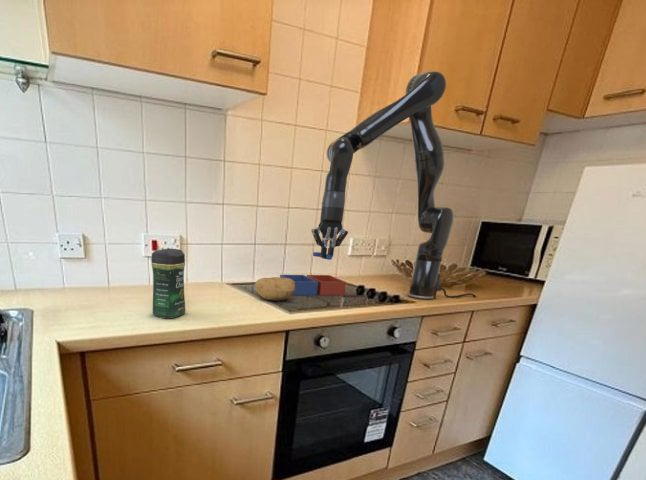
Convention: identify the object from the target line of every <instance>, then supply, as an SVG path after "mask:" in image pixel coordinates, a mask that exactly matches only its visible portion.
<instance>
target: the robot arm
mask: <svg viewBox="0 0 646 480" xmlns="http://www.w3.org/2000/svg"><path fill="white" fill-rule="evenodd" d="M446 88H447V80H446V77H445V75H444V74H443V73H442V72H440V71H436V70H430V71H426V72H422V73H416V74H415V75H413V76H412V77H411V78H410V79H409V80H408V83H407V84H406V87H405V95H403V96H401V97H400V98H399V99H397V100H395V101H394V102H392V103H390V104H388V105H385V107H382V108H380V109H378V110H376V111H375V112H373V113H372V114H370V115H369V116H367V117H366V118H365V119H363V120H362V121H361V122H359V123H357V125H355V126H354V127H353V128H352V129H351V130H349V131H347V132H346V133H344V134H343V135H341V136H340V137H338V138H336V139H335V140H333V141H332V142H331V143H330V144H329V145H328V147H327V149H326V158H327V161H328V162H329V163H330V165H329V171H328V172H327V173H326V176H325V180H324V181H325V182H324V190H323V196H322V199H321V201H322V202H321V210H320V218H319V219H320V221H319V223H318V226H317V227H316V228H311V234H312V236H313V239H314V241H315V243H316V245H317V246H319V247H320V252H321V257H322V258H321V257H320V258H321V259H323V260H327V259H326V254H328V255H332V258H334V253H335V248H336V247H340V246H341V245H342V243H343V242H344V240H345V239H346V237H347V236H348V234H349V231H348V230H346V229H345V228H343V220H344V211H345V204H346V192H347V185H348V175H349V173H350V171H351V167H352V163H353V159H354V154H355V153H356V152H358V151H359V150H361V149H364V148H366V147H367V146H369V145H371V144H372V143H373V142H374V141H376V140H378V139H379V138H380V137H382V136H383V135H384V134H386V133H387V132H388V131H390V130H391V129H393V128H394V127H396V126H397V125H399V124H401V123H402V122H404V121H405V120H407V119H409V122H410V127H411V137H412V138H411V139H412V147H413V160H414V169H415V177H416V187H417V188H416V189H417V223H418V227H419V230H420V231H421V232H423V233H427V234H430V237H429V239H427V240H426V241H423V242H420V243H419V244H418V245H417V249H416V250H417V251H416V256H415V261H414V266H413V271H412V276H411V281H410V285H409V289H408V293H407V296H408V297H410V298H414V299H419V300H433V299H436V298H437V293H438V292H441V291H442V292H443V295H444V296H445V297H446V298H450V299H451V298H460V297H465V296H472V297H473V298H477V296H476V294H474V293H469V292H468V293H461V294H458V295H448V294H447V291H446V289H445V288H443V283H440V279H441V276H442V274H441V273H440V269H441V264H442V260H443V257H444V256H443V255H444V253H445V248H446V247H447V245H448V242H449V239H450V235H451V231H452V228H453V224H454V219H455V218H454V217H455V216H454V211H453V209H452V208H450V207H448V206H447V207H446V206H436V204H435V203H436V202H435V191H436V188H437V185H438V183H439V182H440V180H441V177H442V175H443V173H444V170H445V152H444V151H445V150H444V145H443V142H442V138H441V137H440V134H439V131H438V130H437V128H436V125H435V123H434V120H433V113H432V106H434V105H435V104H437V103H438V102H439V101H440V100H441V99H442V98H443V96H444V94H445V91H446ZM320 233H321V235H320Z"/></svg>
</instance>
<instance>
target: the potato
mask: <svg viewBox="0 0 646 480" xmlns="http://www.w3.org/2000/svg"><path fill="white" fill-rule="evenodd" d="M295 286H296V285H295V282H294V281H293V280H292V279H289V278H280V276H273V277H262V278H259V279H257V281H255V283H254V288H255V291H256V292H257V294H258V295H259V296H261V298H262V299H264V300H266V301H272V302H280V301H286V300H287V299H288V300H289V299H290V298H291V297H292V296H293V295H292V294H293V292H294V291H295Z"/></svg>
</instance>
